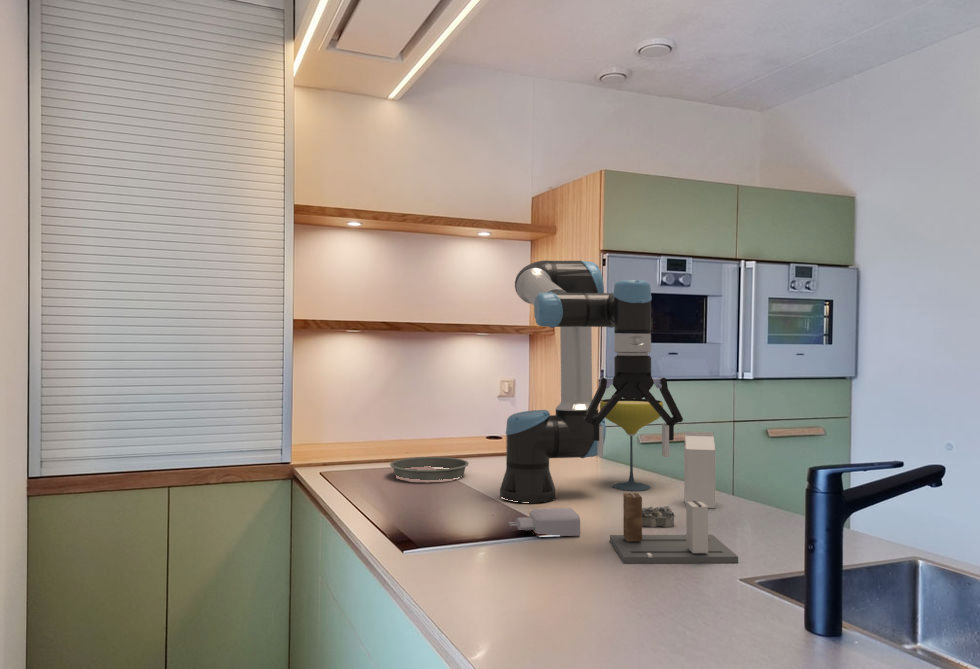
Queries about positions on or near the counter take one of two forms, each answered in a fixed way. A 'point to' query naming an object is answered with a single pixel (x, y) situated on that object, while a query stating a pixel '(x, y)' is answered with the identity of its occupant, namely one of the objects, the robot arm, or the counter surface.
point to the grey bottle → (551, 522)
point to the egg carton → (657, 517)
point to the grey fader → (697, 527)
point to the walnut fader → (632, 516)
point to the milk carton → (699, 468)
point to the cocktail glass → (631, 429)
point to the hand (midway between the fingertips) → (633, 456)
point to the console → (670, 550)
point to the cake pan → (453, 464)
